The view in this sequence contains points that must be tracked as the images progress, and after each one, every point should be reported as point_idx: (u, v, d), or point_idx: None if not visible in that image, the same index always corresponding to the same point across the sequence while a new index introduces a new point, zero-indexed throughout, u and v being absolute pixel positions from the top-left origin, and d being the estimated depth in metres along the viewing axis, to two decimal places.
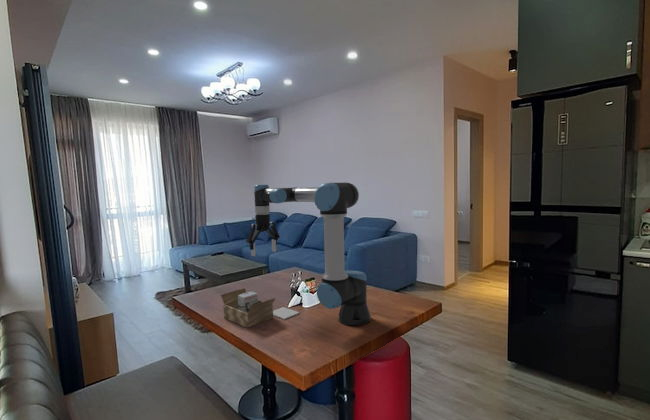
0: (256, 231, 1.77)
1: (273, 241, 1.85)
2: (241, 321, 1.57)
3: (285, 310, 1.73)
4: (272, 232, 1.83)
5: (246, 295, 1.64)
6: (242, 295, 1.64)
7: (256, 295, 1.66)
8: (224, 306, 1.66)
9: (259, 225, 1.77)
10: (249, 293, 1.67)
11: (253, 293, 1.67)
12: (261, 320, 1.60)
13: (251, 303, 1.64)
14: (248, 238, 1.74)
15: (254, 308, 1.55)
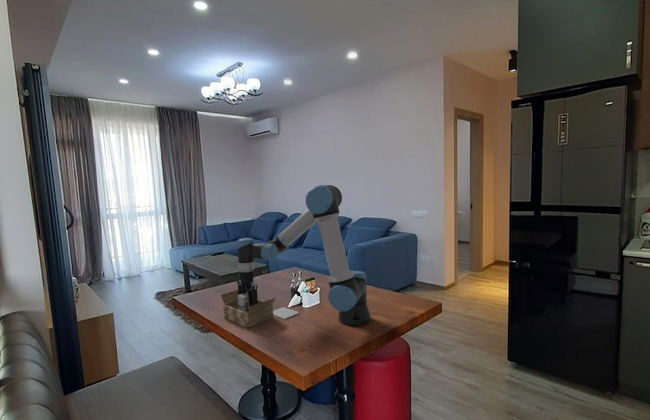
0: None
1: None
2: (241, 321, 1.57)
3: (285, 310, 1.73)
4: (249, 295, 1.62)
5: (246, 295, 1.64)
6: (242, 295, 1.64)
7: None
8: (224, 306, 1.66)
9: (241, 281, 1.66)
10: None
11: None
12: (261, 320, 1.60)
13: None
14: None
15: (254, 308, 1.55)
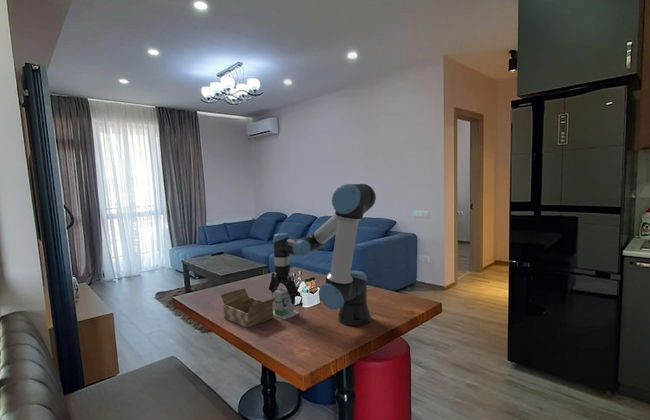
0: None
1: None
2: (241, 321, 1.57)
3: None
4: (287, 288, 1.65)
5: (282, 291, 1.67)
6: (279, 291, 1.67)
7: None
8: (224, 306, 1.66)
9: (276, 275, 1.70)
10: (285, 289, 1.70)
11: None
12: (261, 320, 1.60)
13: (287, 298, 1.68)
14: None
15: (254, 308, 1.55)
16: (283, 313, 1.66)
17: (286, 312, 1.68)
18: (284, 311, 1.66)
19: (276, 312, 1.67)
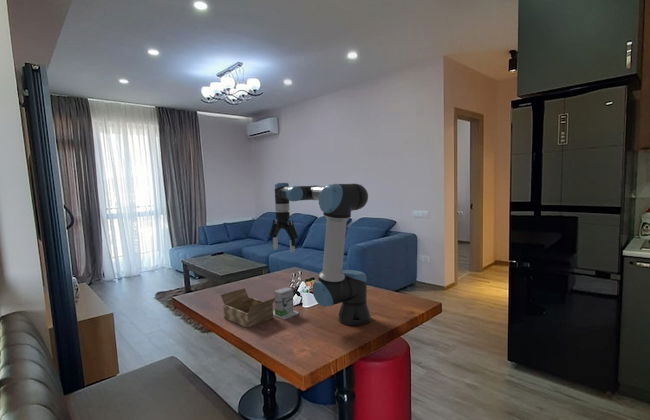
0: None
1: None
2: (241, 321, 1.57)
3: None
4: (288, 231, 1.80)
5: (282, 291, 1.67)
6: (279, 291, 1.67)
7: (292, 291, 1.70)
8: (224, 306, 1.66)
9: (277, 221, 1.85)
10: (285, 289, 1.70)
11: (289, 289, 1.70)
12: (261, 320, 1.60)
13: (287, 298, 1.68)
14: None
15: (254, 308, 1.55)
16: (283, 313, 1.66)
17: (286, 312, 1.68)
18: (284, 311, 1.66)
19: (276, 312, 1.67)
